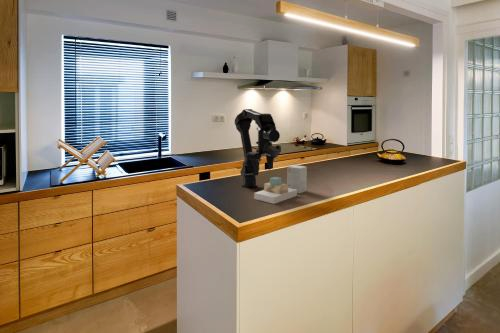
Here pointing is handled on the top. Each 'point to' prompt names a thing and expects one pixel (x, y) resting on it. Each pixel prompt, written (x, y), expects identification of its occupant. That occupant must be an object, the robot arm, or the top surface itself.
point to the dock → (274, 196)
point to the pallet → (276, 188)
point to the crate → (275, 181)
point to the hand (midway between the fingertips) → (263, 170)
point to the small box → (297, 178)
